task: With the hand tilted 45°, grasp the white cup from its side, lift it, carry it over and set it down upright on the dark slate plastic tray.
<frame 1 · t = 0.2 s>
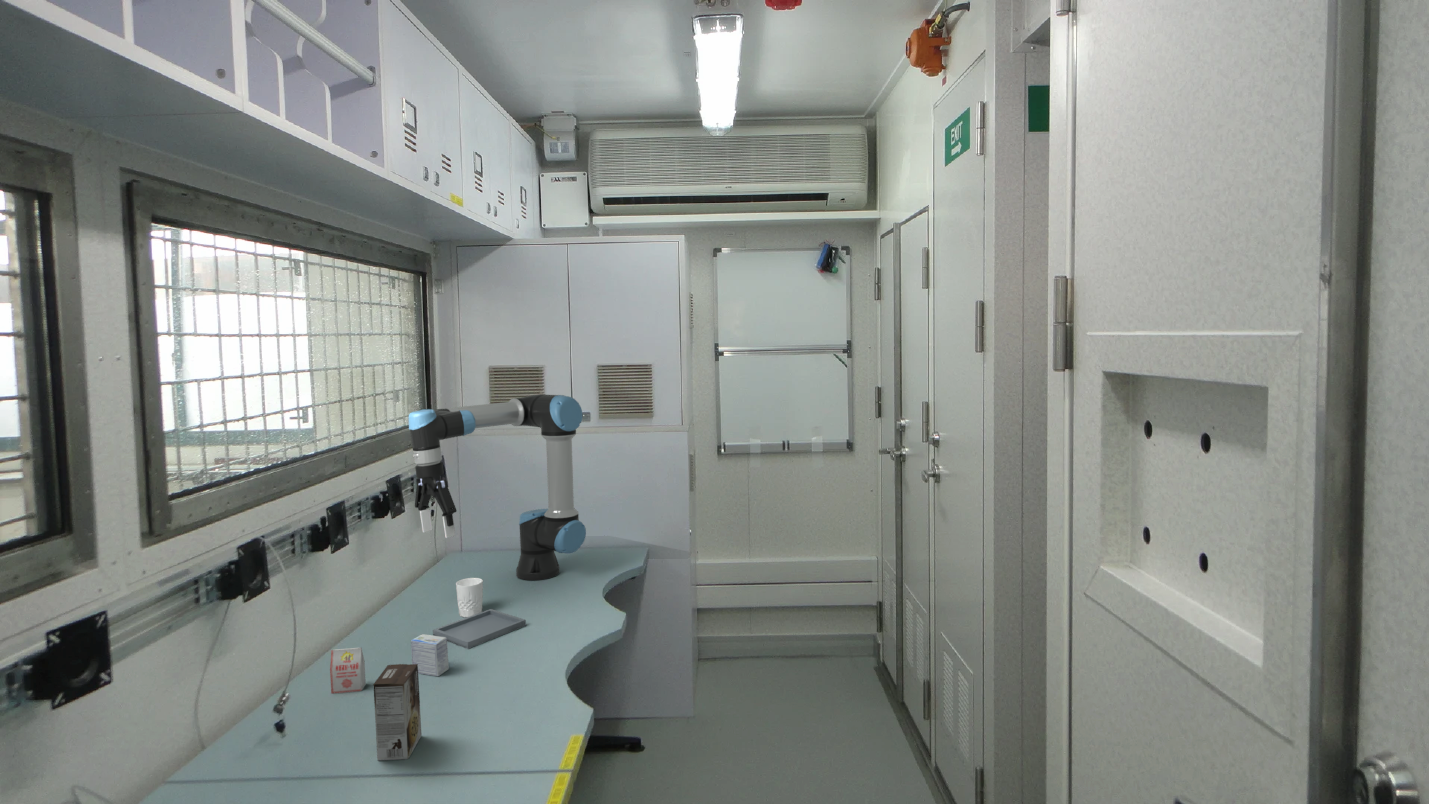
hand: (438, 534, 222), 27 cm above the table, tool pointing down, fingers open, 13 cm apart
medicine box: (430, 672, 192), on the table
tray: (480, 630, 218), on the table
white paper packet: (348, 689, 183), on the table
coffee box: (399, 749, 156), on the table
white cup: (470, 614, 232), on the table
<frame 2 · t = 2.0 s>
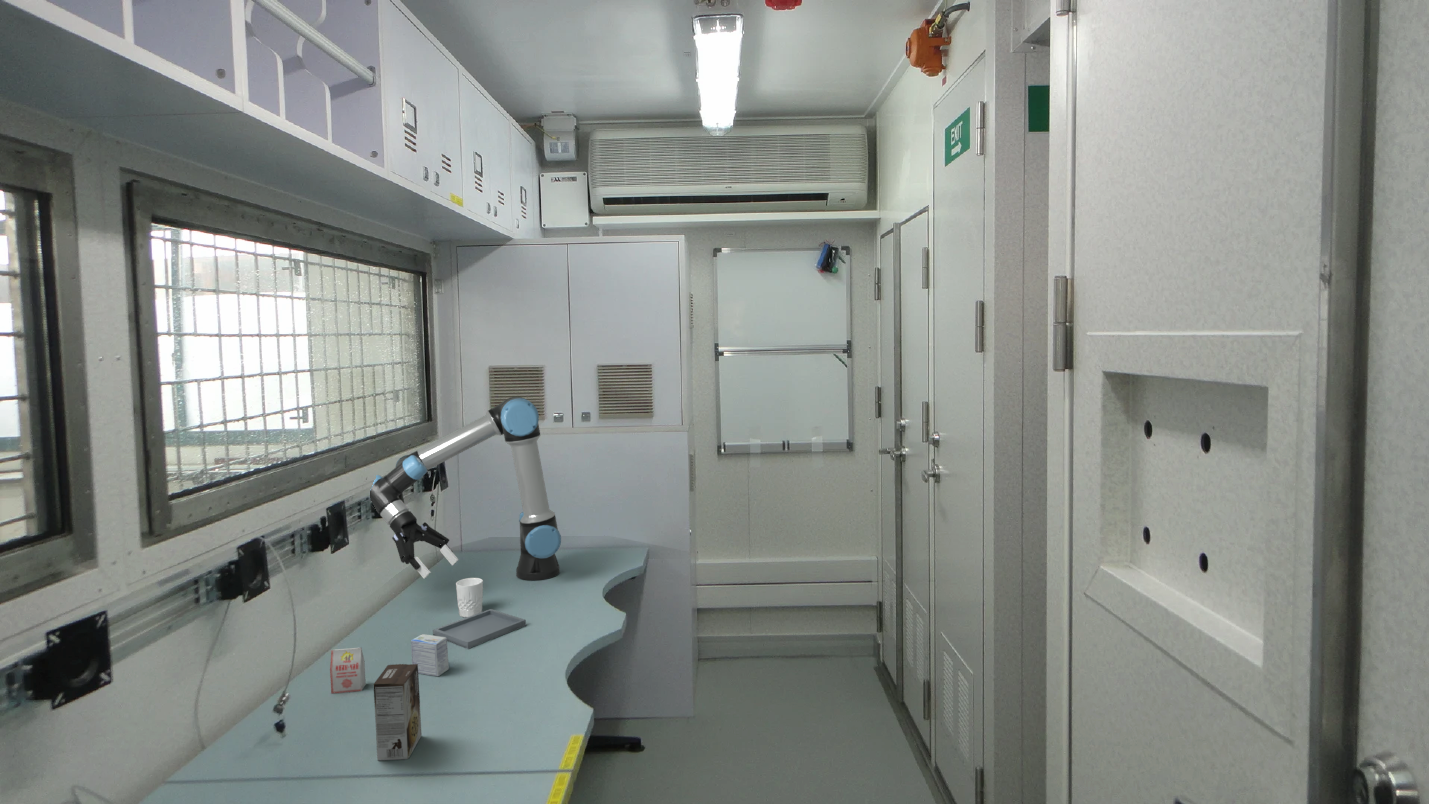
hand: (441, 569, 233), 13 cm above the table, tool tilted 45°, fingers open, 13 cm apart
nothing on the table moved.
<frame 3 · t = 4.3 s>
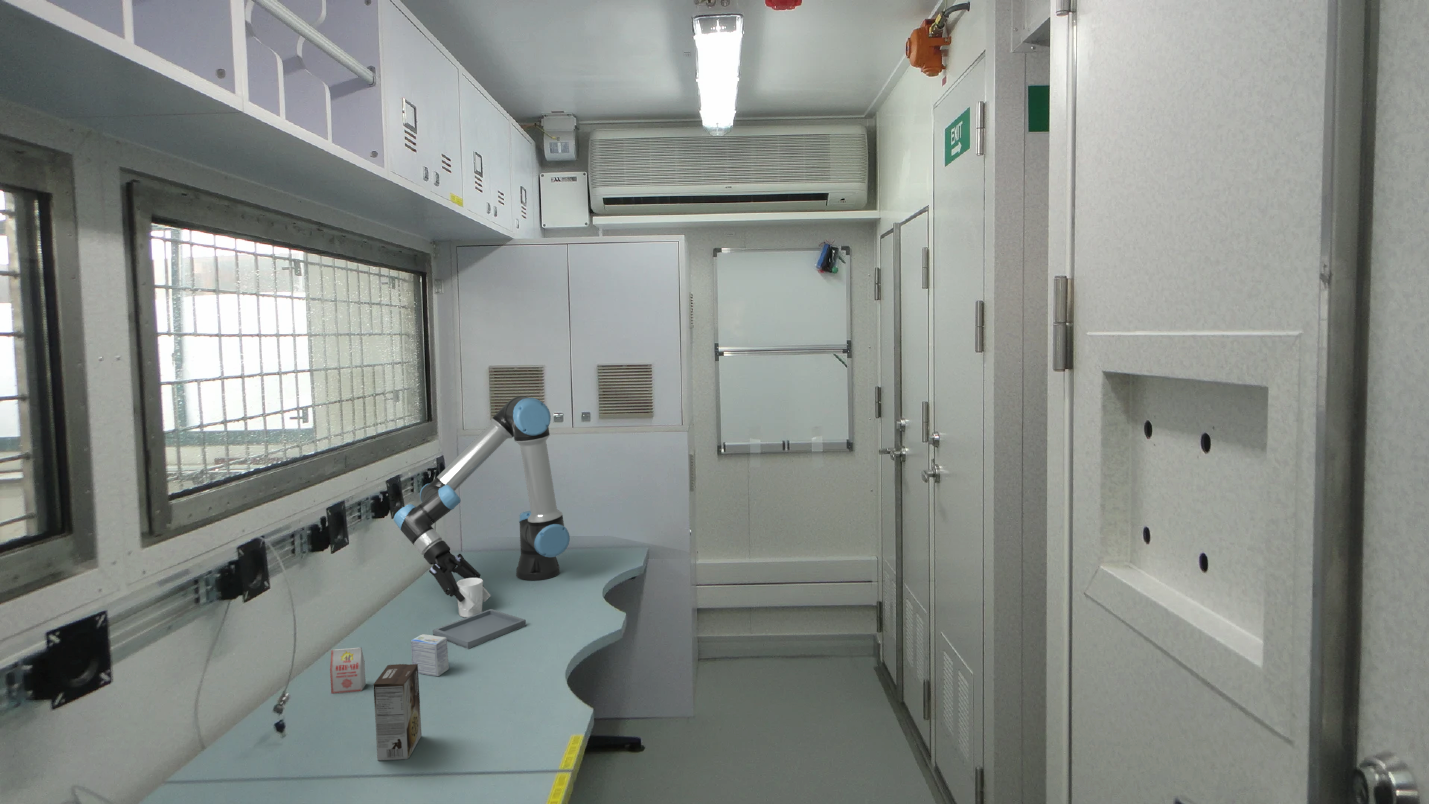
hand: (479, 603, 231), 4 cm above the table, tool tilted 45°, fingers closed on white cup, 8 cm apart
white cup: (470, 614, 232), on the table, touching gripper
everything else where it was.
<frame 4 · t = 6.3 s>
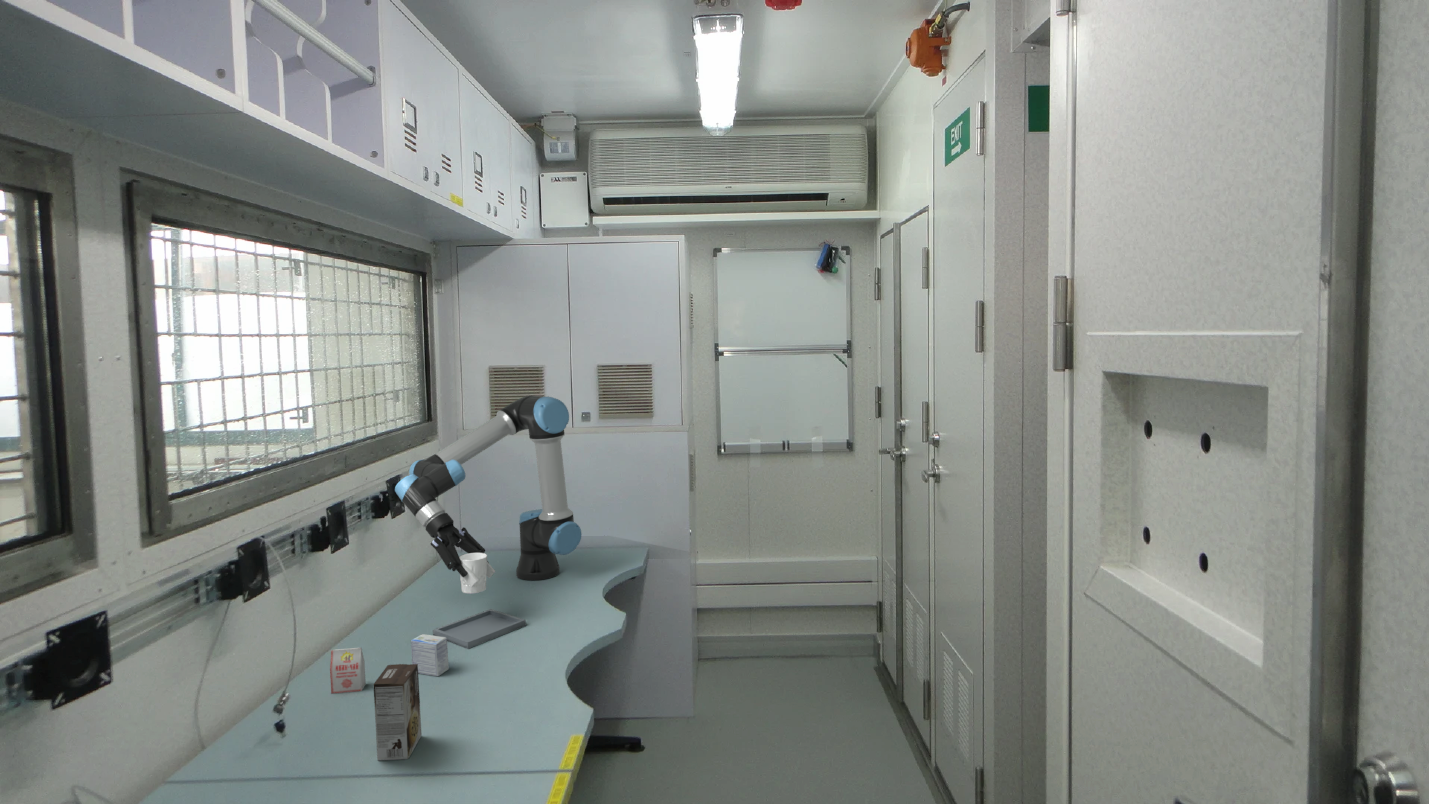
hand: (483, 579, 218), 15 cm above the table, tool tilted 45°, fingers closed on white cup, 8 cm apart
white cup: (473, 590, 220), point 11 cm above the table, touching gripper
everything else where it was.
when the fingers open (6 cm above the table, at t = 8.6 s): white cup drops 1 cm, resting on tray.
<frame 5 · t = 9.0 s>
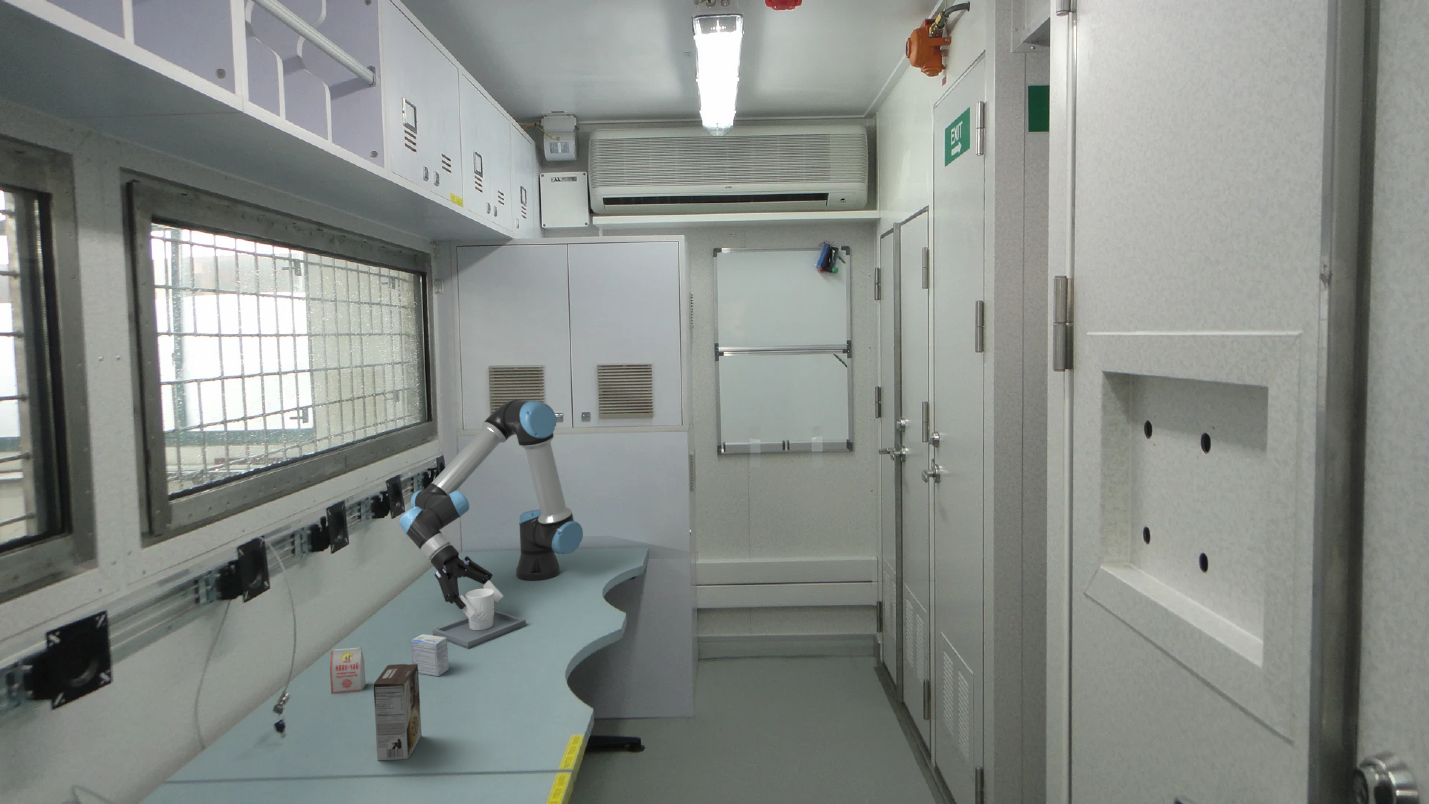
hand: (487, 607, 218), 7 cm above the table, tool tilted 45°, fingers open, 13 cm apart
white cup: (481, 626, 220), resting on tray
everything else where it was.
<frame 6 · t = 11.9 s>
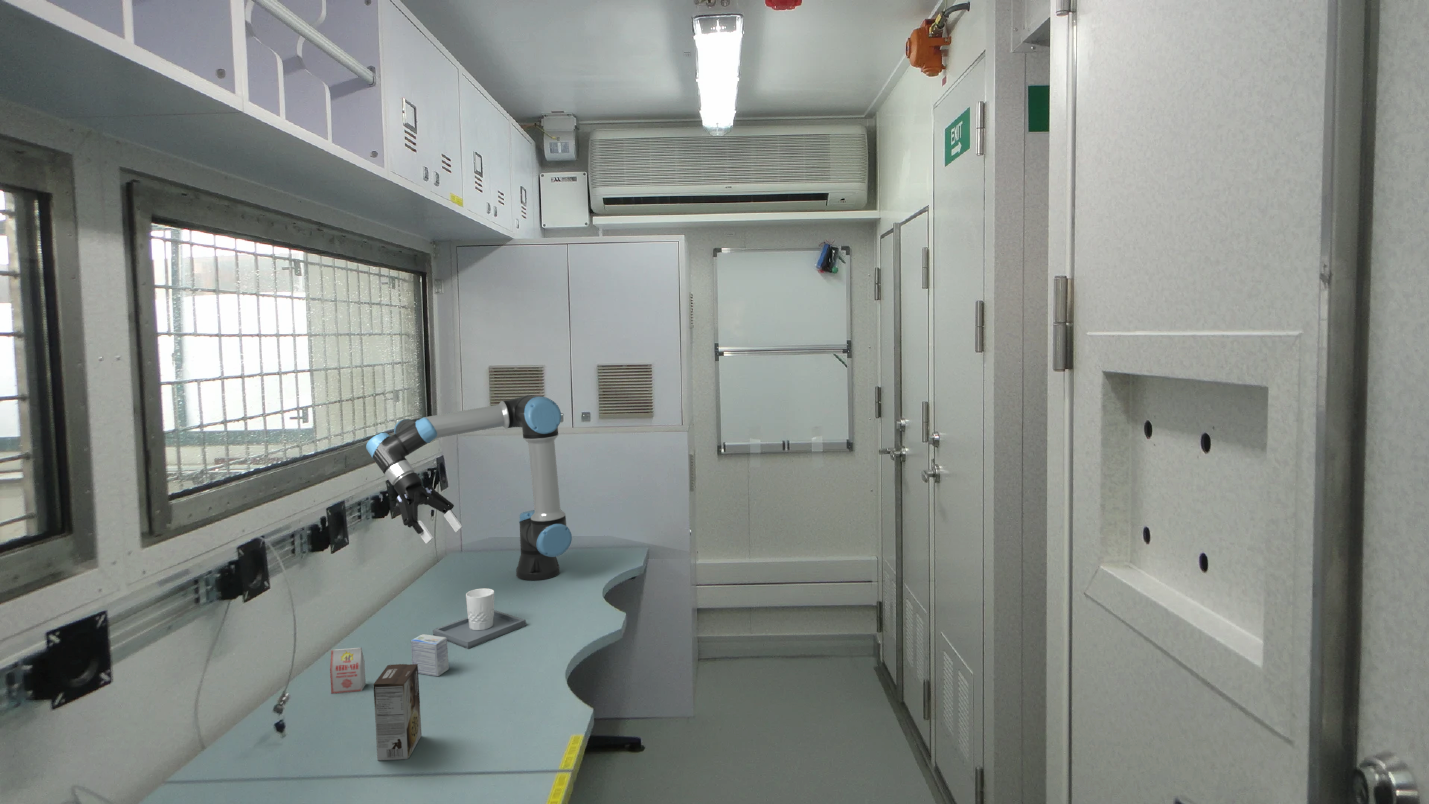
hand: (444, 535, 224), 26 cm above the table, tool tilted 40°, fingers open, 13 cm apart
nothing on the table moved.
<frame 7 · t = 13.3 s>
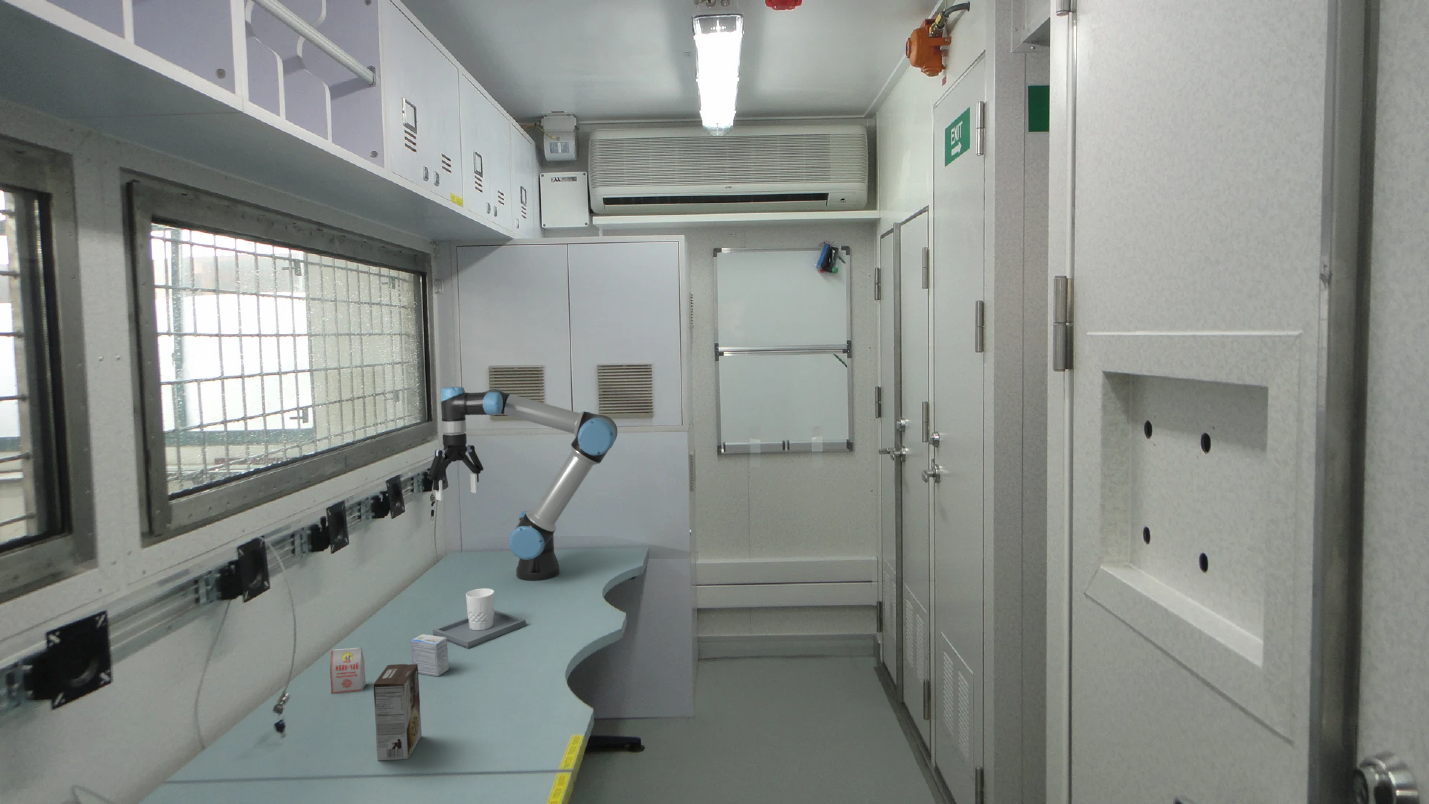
hand: (457, 496, 253), 32 cm above the table, tool pointing down, fingers open, 13 cm apart
nothing on the table moved.
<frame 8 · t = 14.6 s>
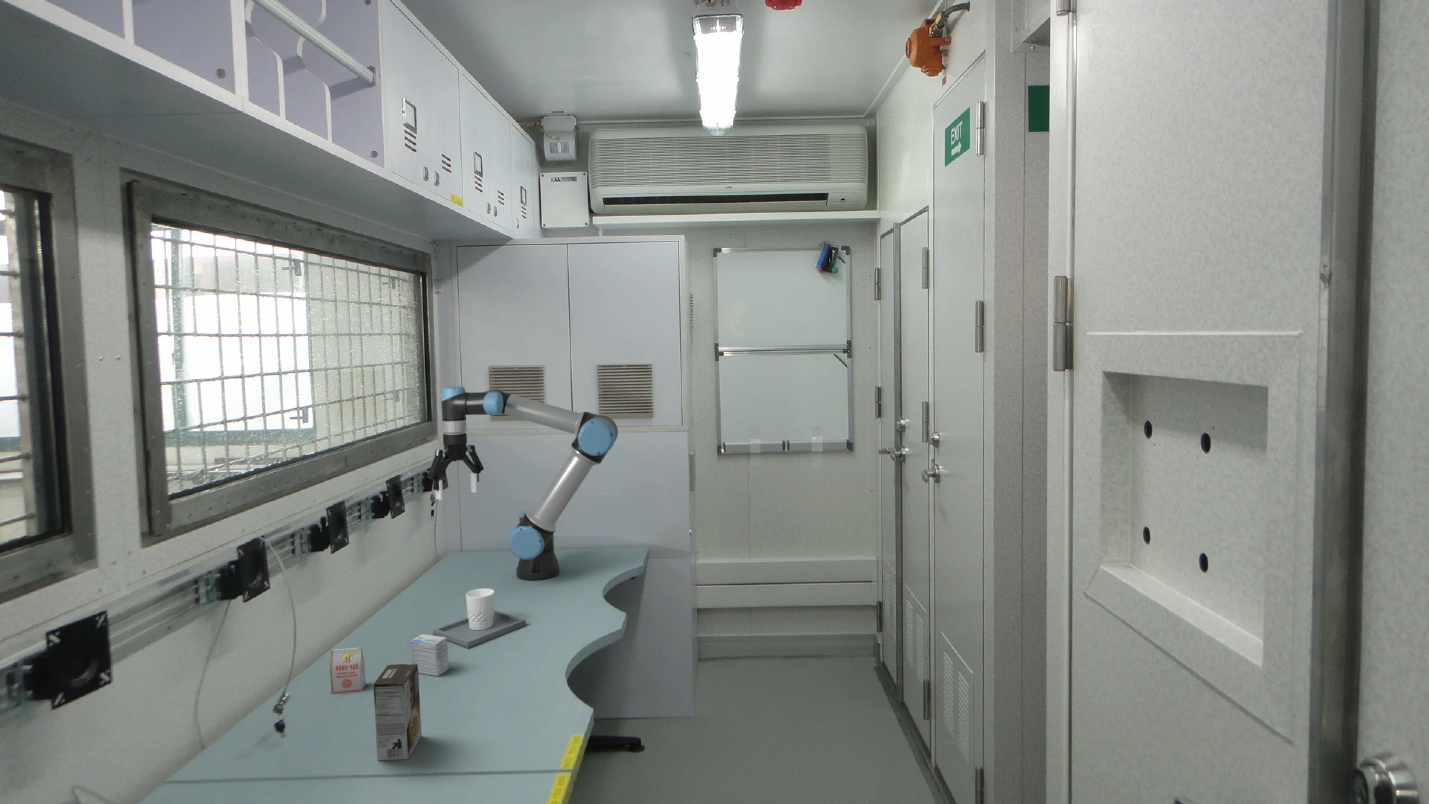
hand: (457, 495, 253), 32 cm above the table, tool pointing down, fingers open, 13 cm apart
nothing on the table moved.
at the end: white cup inside the target area on the tray (1.8 cm from its centre), point 0.4 cm above the tray's base; white cup tilted 0°; the gripper is holding nothing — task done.
